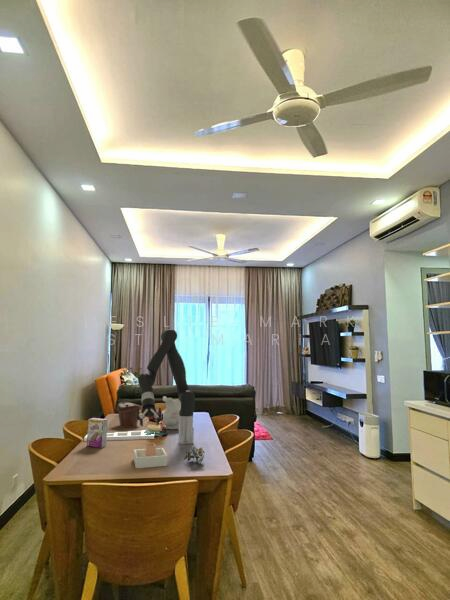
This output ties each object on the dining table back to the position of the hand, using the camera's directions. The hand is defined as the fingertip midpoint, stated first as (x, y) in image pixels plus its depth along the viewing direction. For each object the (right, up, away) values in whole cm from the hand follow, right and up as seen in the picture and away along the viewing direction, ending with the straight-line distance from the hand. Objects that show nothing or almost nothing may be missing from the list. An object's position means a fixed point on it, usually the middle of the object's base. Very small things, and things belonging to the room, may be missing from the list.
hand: (149, 425), depth 207 cm
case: (-33, -28, +81) cm, 92 cm away
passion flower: (+26, -17, -13) cm, 33 cm away
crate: (+2, -16, -11) cm, 20 cm away
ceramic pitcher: (+3, -28, +76) cm, 81 cm away
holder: (-29, -24, +44) cm, 58 cm away
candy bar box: (-37, -20, +19) cm, 46 cm away
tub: (+2, -15, -11) cm, 19 cm away
